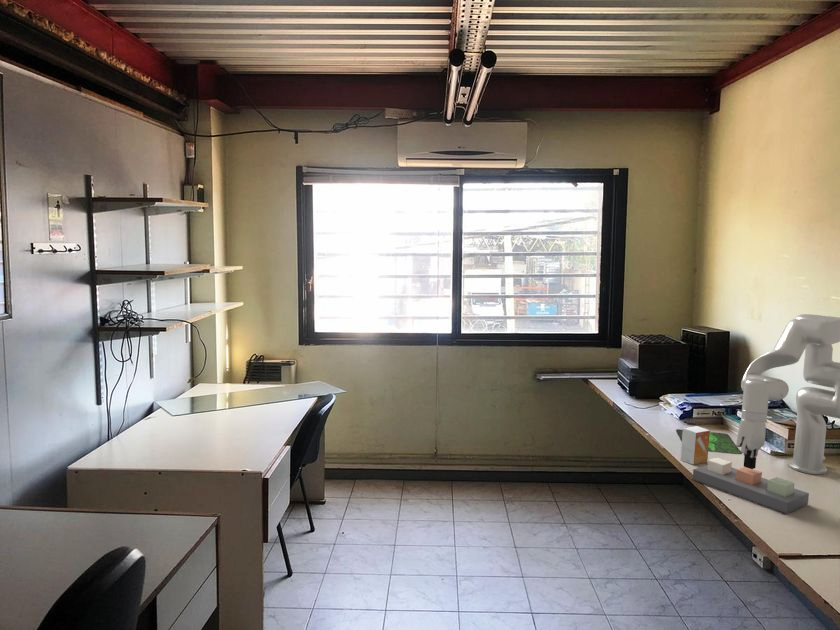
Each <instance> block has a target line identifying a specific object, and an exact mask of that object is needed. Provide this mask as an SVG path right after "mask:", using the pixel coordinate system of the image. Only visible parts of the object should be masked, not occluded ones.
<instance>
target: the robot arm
mask: <svg viewBox="0 0 840 630" xmlns="http://www.w3.org/2000/svg"><path fill="white" fill-rule="evenodd" d="M837 343H840V317H839V316H831V315H830V316H829V315H828V316H827V315H819V314H808V313H807V314H799V315H796V316H795V318H793V319H791V320H789V322H787V324H786V326H785V327H784V329H783V331H782V332H781V335H780V336H779V338H778V340H777V342H776V344H775V346H774V347H773V349H772V350H770V351H768V352H765V353H764V354H761V355H760V356H759V357H757V358H755V359H754V360H753V361H752V362H750V364H749V366H748V367H747V368H746V370H745V372H744V374H743V377H742V379H741V381H740V387H741V391H742V392H743V394H742V405H741V406H742V407H741V417H740V418H741V419H740V422H739V425H738V431H737V435H736V443H735V445H736V446H737V447H738V448H740V451H741V453H742V454H743V456H744V457H743V467H747V468H750V469H754V470H755V469H756V464H757V456H758V454H759V453H758V452H759V450H761V449H762V448H763V447H764V446H765V443H766V432H767V431H766V430H767V429H766V427H767V425H766V423H767V419H768V418H767V417H768V409H769V401H774V402H777V401H781V400H783V399H785V398H786V397H787V396H788V394H789V391H790V390H789V389H790V388H789V385H788V383H787V382H786V381H785V380H783V379H780V378H776V377H770V376H766V375H762V374H764V373H765V372H767V371H769V370H773V369H775V368H780V367H786V366H790V365H791V366H792V365H795V364H797V363H798V362H799V361H800V359H801V357H802V356H803V353H804V360H803V361H804V362H803V373H802V374H803V375H802V376H803V379H804V381H805V382H807V383H809V384H812V385H816V386H821V387H822V386H823V387H825V389H824V388H820V387H814V386H804V387H801V388H800V389H798V391H797V392H796V395H795V402H796V403H795V405H796V424H795V425H796V427H795V436H794V445H793V446H794V448H793V455H792V459H790V460H788V462H787V465H788V467H789V468H791V469H793V470H795V471H797V472H801V473H805V474H810V475H824V474H827V472H828V468H827V467H826V466H824V464H823V463H824V461H825V460H826V456H825V455H824V454H825V447H826V437H827V436H826V435H827V423H826V420H825V418H824V417H823V416H825V417H829V418H834V419H840V362H837V361H834V360H833V350H834V348H833V345H834V344H837ZM826 387H828V388H831V389H833V390H834V391H833V390H829V389H826Z"/></svg>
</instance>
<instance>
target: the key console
mask: <svg viewBox="0 0 840 630" xmlns="http://www.w3.org/2000/svg"><path fill="white" fill-rule="evenodd" d="M707 466H708V464H706V465H703V466H699V467H696V468H693V470H692V481H695V482H697V483H699V484H702V485H706V486H709V487H710V488H713V489H716V490H719V491H721V492H724V493H727V494H730V495H731V496H735V497H738V498H740V499H743V500H745V501H747V502H751V503H754V504H757V505H759V506H762V507H764V508H767V509H770V510H772V511H774V512H777V513H781V514H783V515H788V514H790V513H793V512H795V511H797V510H800V509H802V508H804V507H806V506H808V505H809V495H810V493H809V492H807V491H804V490H801V489H797V488H796V487H794V494H792V495H790V496H787V497H784V496H781V495H778V494H775V493H772V492H769V491H767V487H768V480H769V479H767V478H764V477H761V483H758V484H756V485H753V486H752V485H749V484H746V483H743V482H741V481H738V480H736V473H737V470H738V469H739V468H738V469H737V468H734V467H731V472H730V473H727V474H725V475H721V474H718V473H715V472H712V471H709V470H707Z"/></svg>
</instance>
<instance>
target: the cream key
mask: <svg viewBox="0 0 840 630" xmlns="http://www.w3.org/2000/svg"><path fill="white" fill-rule="evenodd" d="M707 465H708V466H707V470H709V471H712V472H715V473H718V474H721V475H725V474H727V473H730V472H731V467H732V461H729V460H727V459H723V458H720V457H718V456H717V457H714V458H710V459H707ZM732 468H733V467H732Z"/></svg>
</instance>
